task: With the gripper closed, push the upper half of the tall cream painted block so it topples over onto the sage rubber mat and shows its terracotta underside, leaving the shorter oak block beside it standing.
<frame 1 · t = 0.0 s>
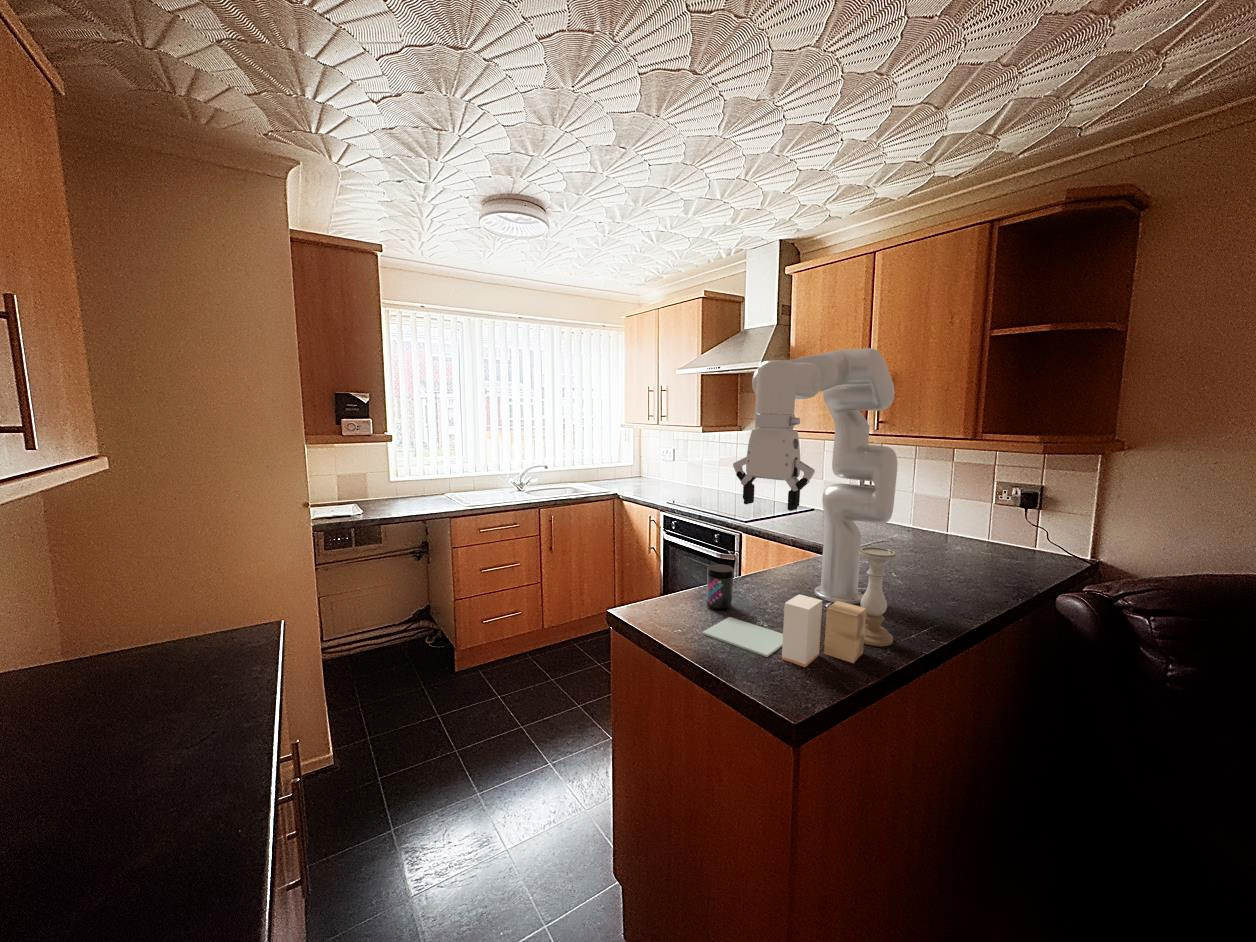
hand: (769, 506, 104), 31 cm above the countertop, fingers open, 9 cm apart
supplement container: (719, 607, 132), on the countertop
mat: (746, 636, 114), on the countertop
oak block: (843, 653, 107), on the countertop
candle holder: (871, 639, 115), on the countertop
cream block: (800, 657, 105), on the countertop
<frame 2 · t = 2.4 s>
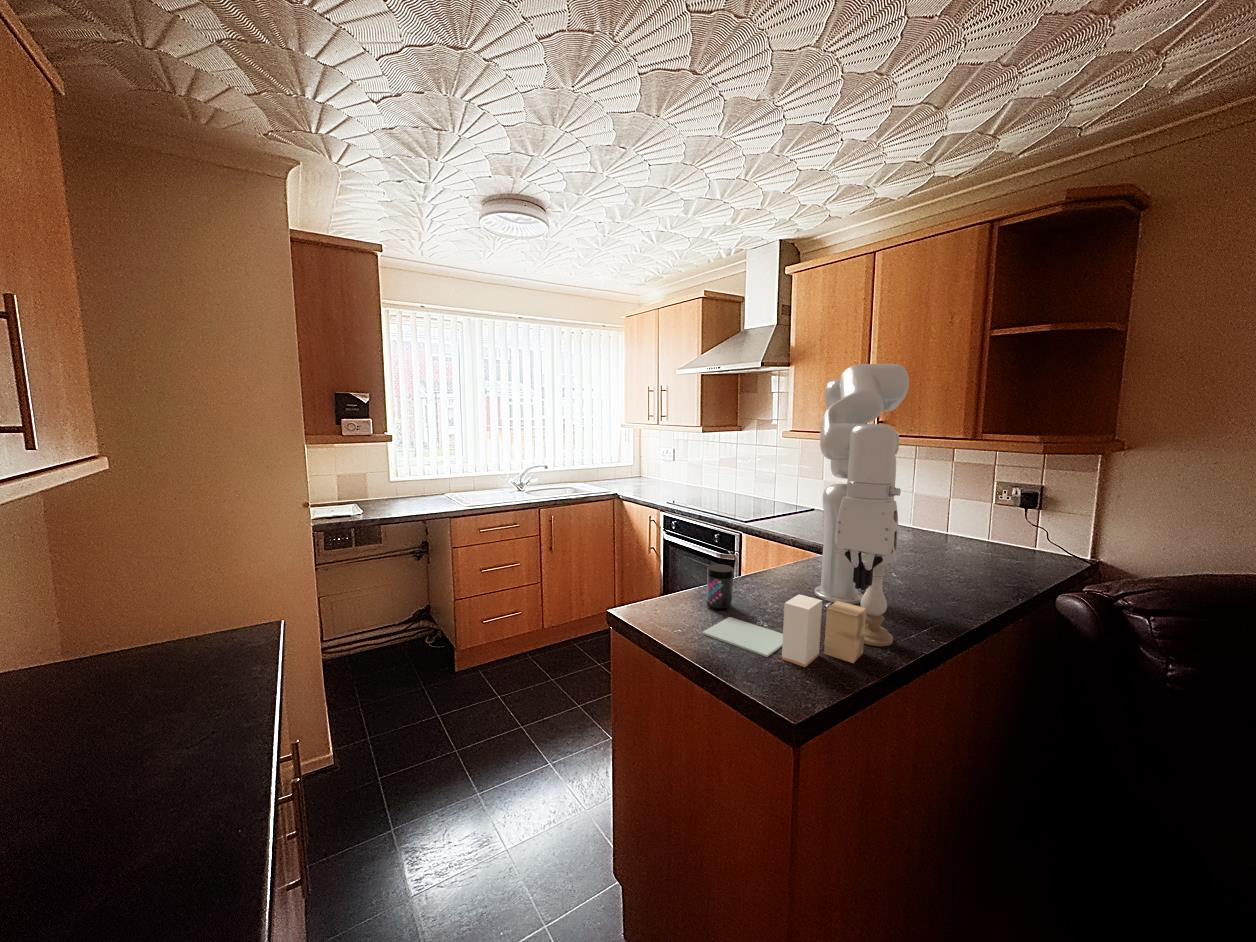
hand: (862, 587, 95), 18 cm above the countertop, fingers closed
nothing on the countertop moved.
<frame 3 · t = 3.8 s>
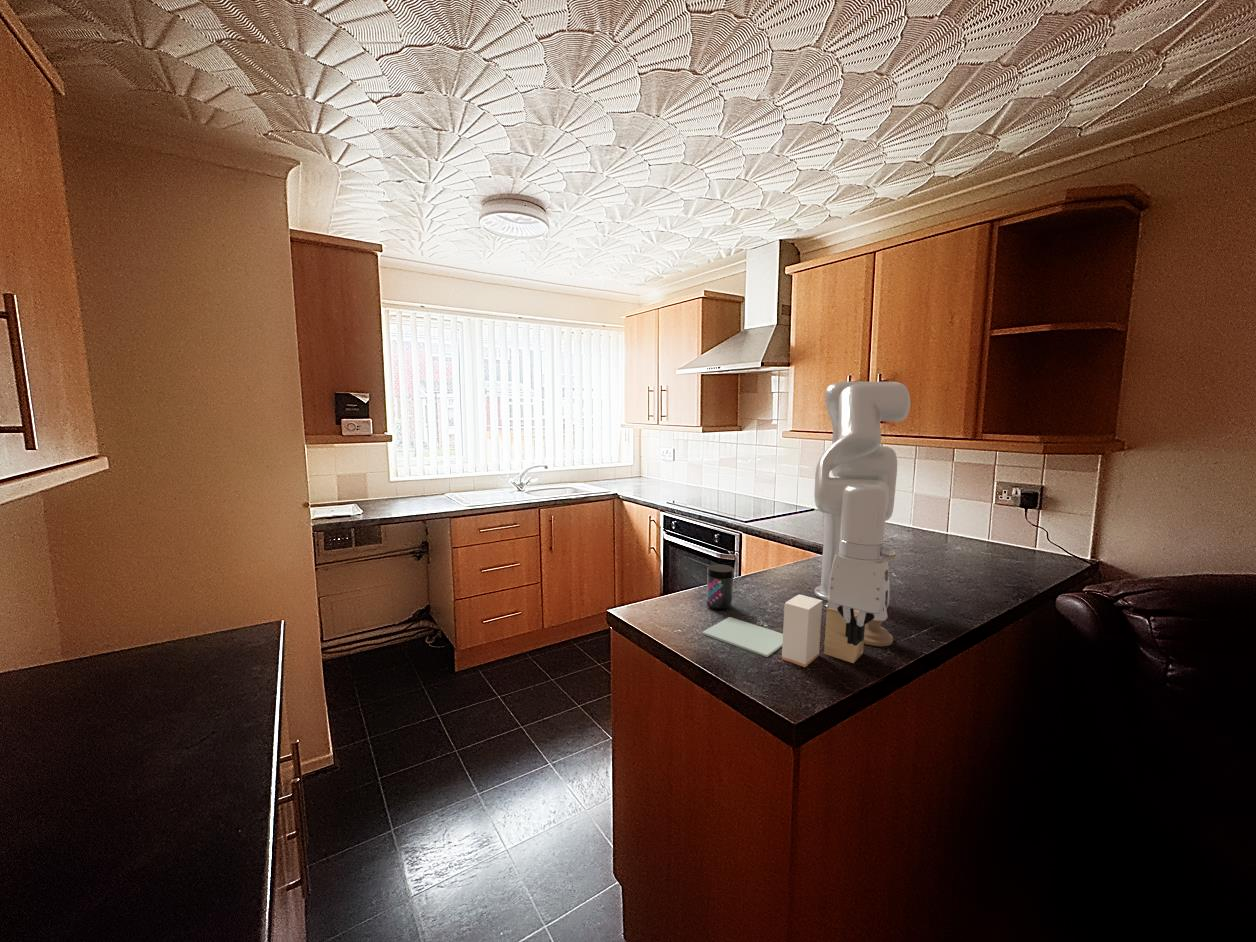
hand: (854, 642, 97), 7 cm above the countertop, fingers closed
nothing on the countertop moved.
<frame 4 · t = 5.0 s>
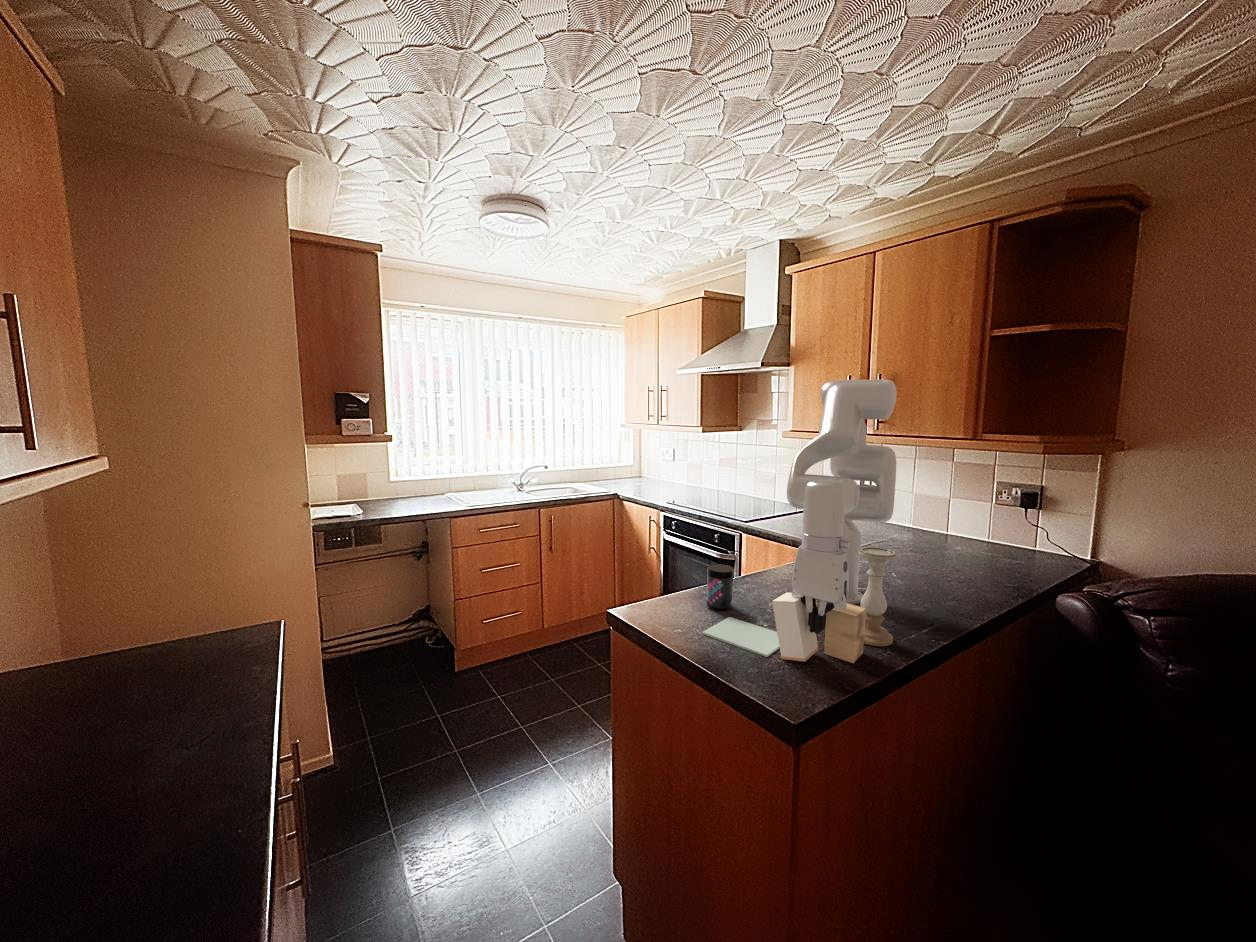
hand: (816, 630, 102), 7 cm above the countertop, fingers closed
cream block: (800, 654, 105), point 1 cm above the countertop, tilted 13°
everything else where it was.
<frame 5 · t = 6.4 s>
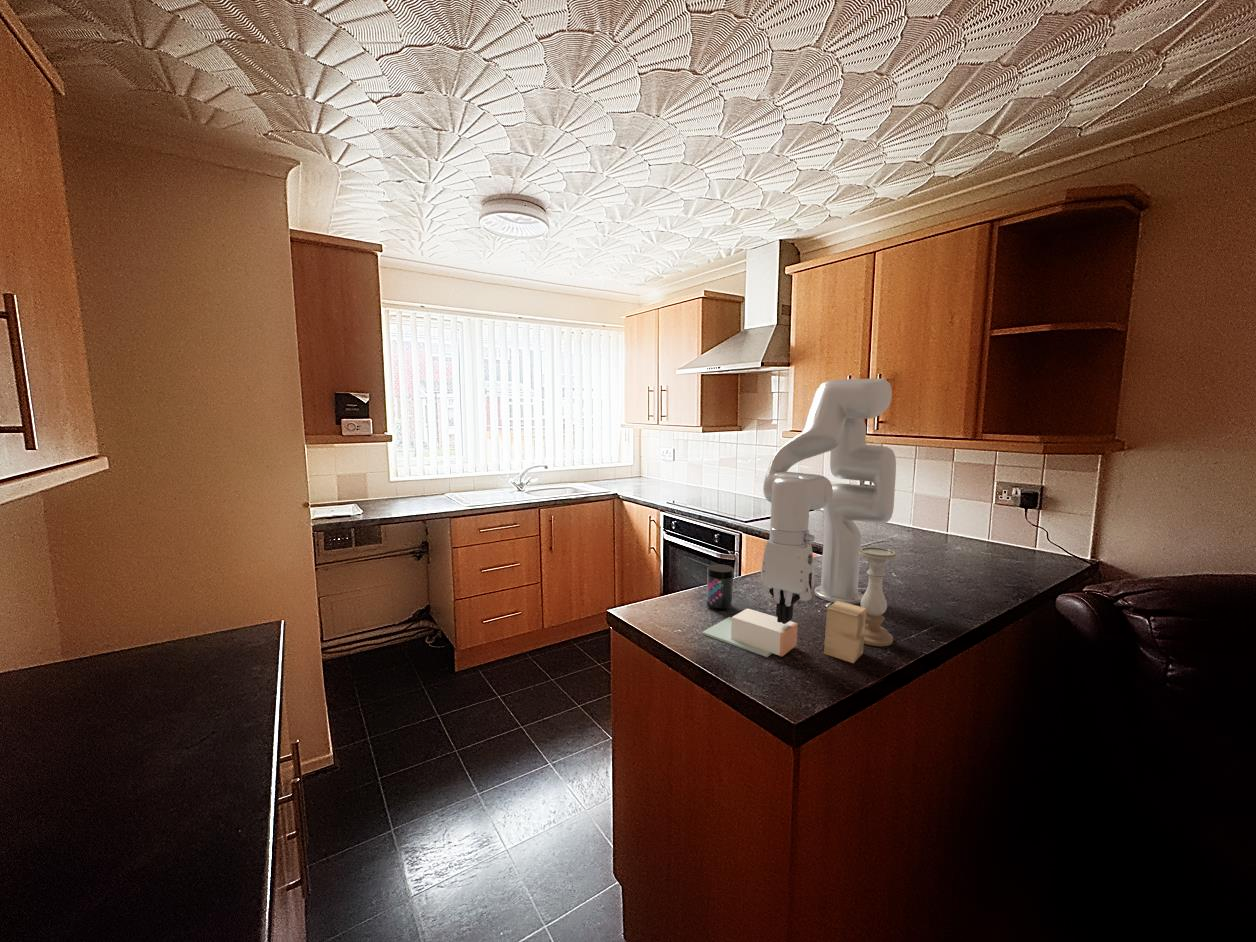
hand: (784, 621, 107), 7 cm above the countertop, fingers closed
cream block: (790, 639, 106), point 3 cm above the countertop, tilted 90°, touching mat
everything else where it was.
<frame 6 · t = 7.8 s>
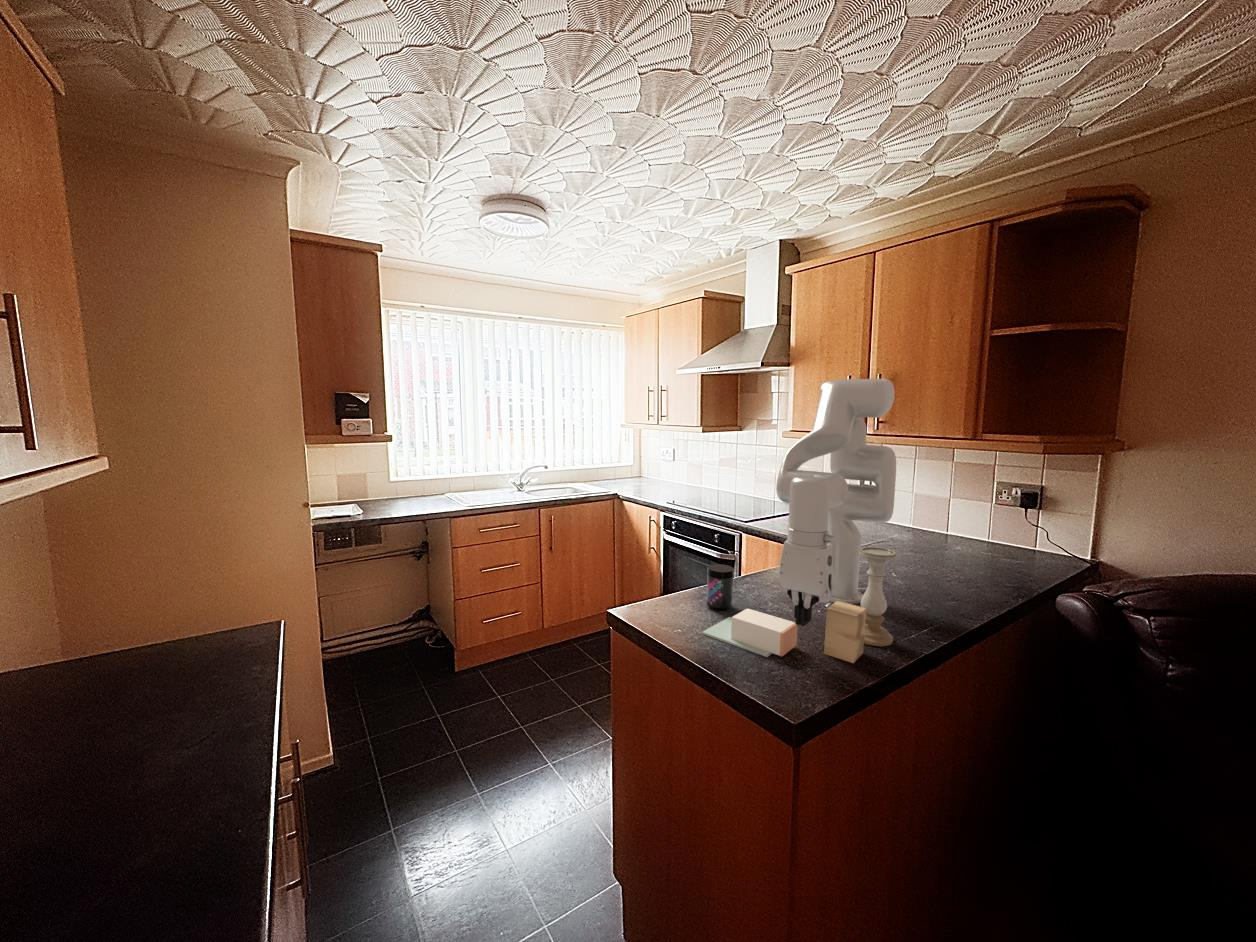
hand: (802, 623, 105), 7 cm above the countertop, fingers closed
nothing on the countertop moved.
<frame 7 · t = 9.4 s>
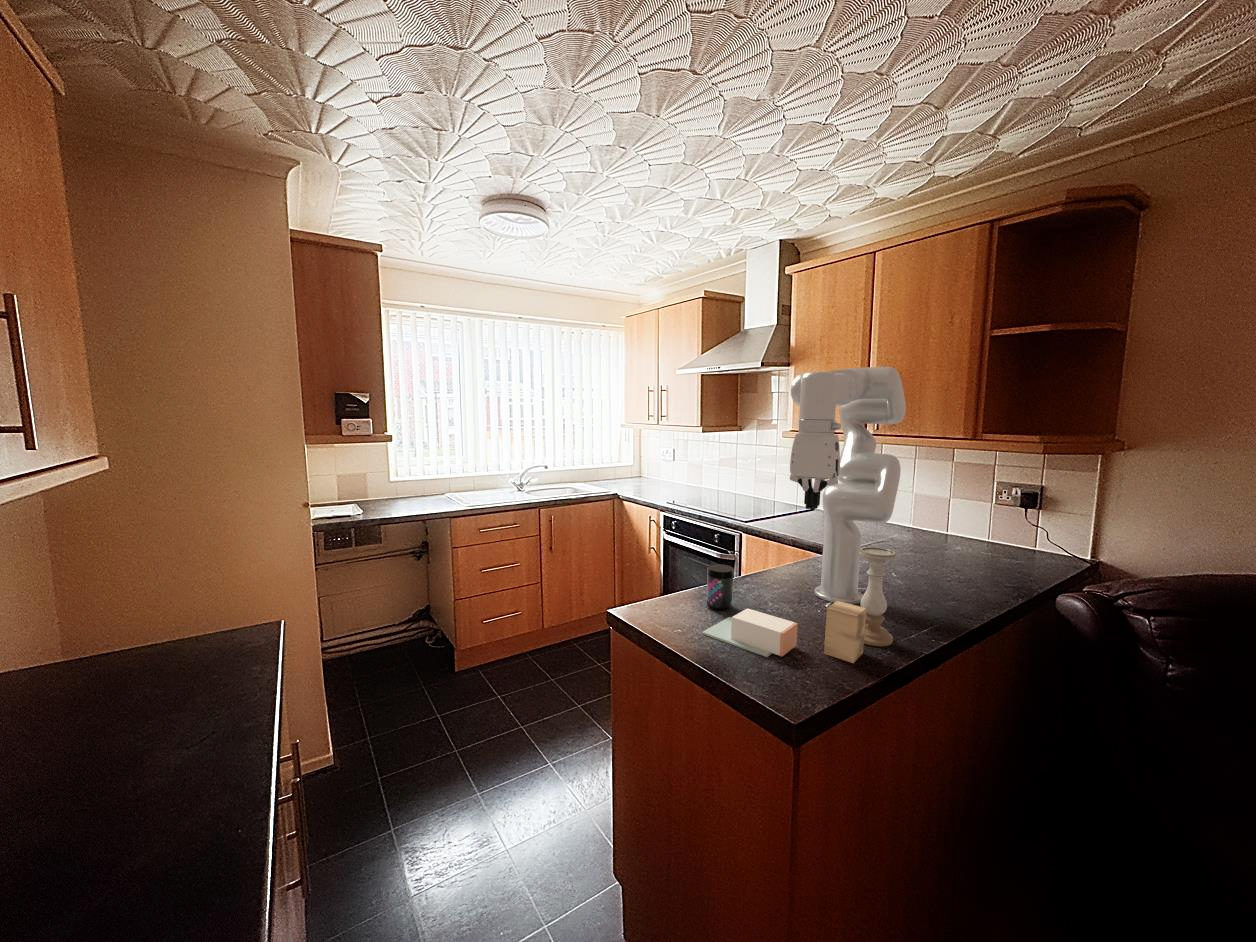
hand: (811, 508, 115), 29 cm above the countertop, fingers closed
nothing on the countertop moved.
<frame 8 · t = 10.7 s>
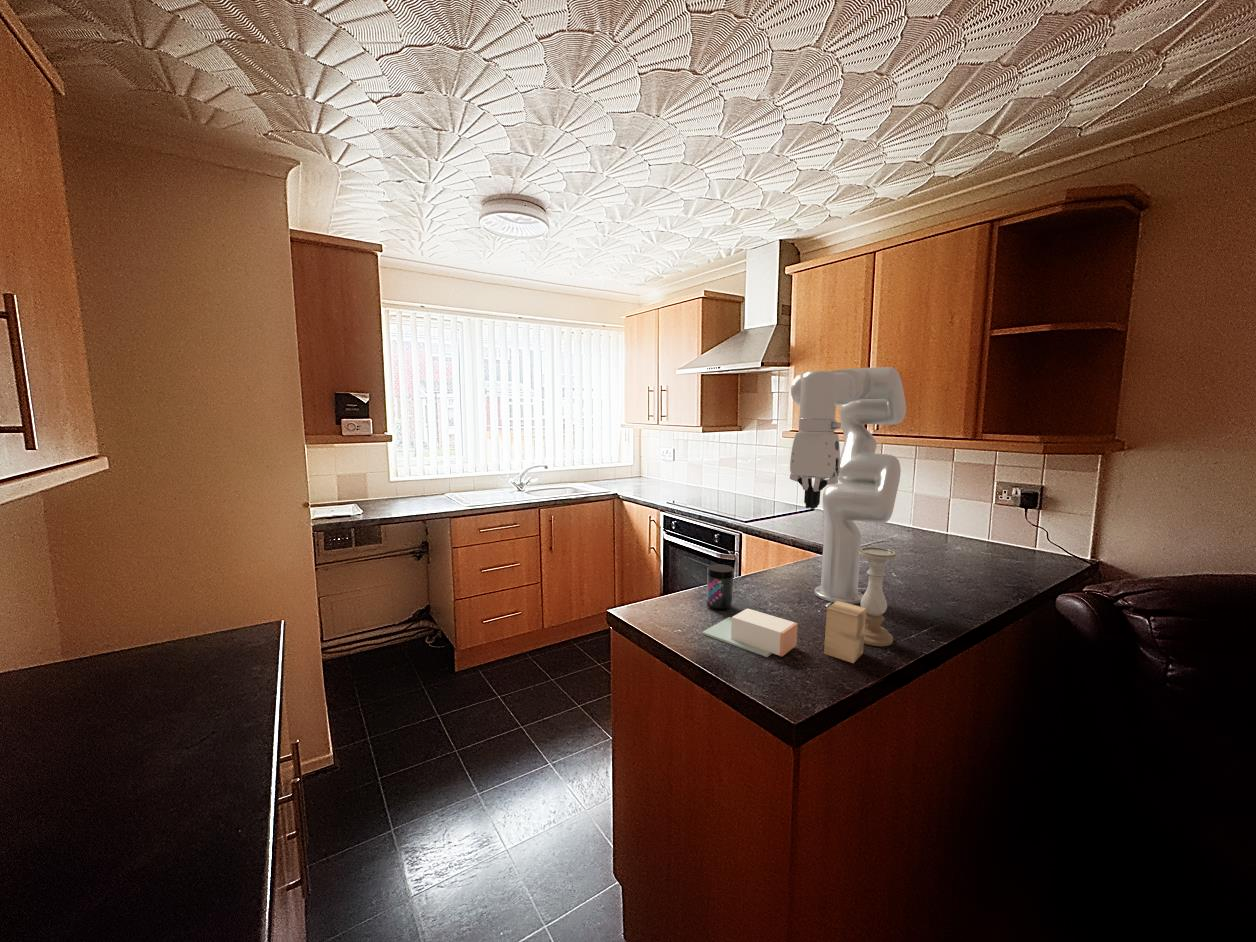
hand: (811, 507, 115), 29 cm above the countertop, fingers closed
nothing on the countertop moved.
at the end: cream block tilted 90°; cream block inside the target area (8.6 cm from its centre), point 3.0 cm above the countertop; oak block tilted 0° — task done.
